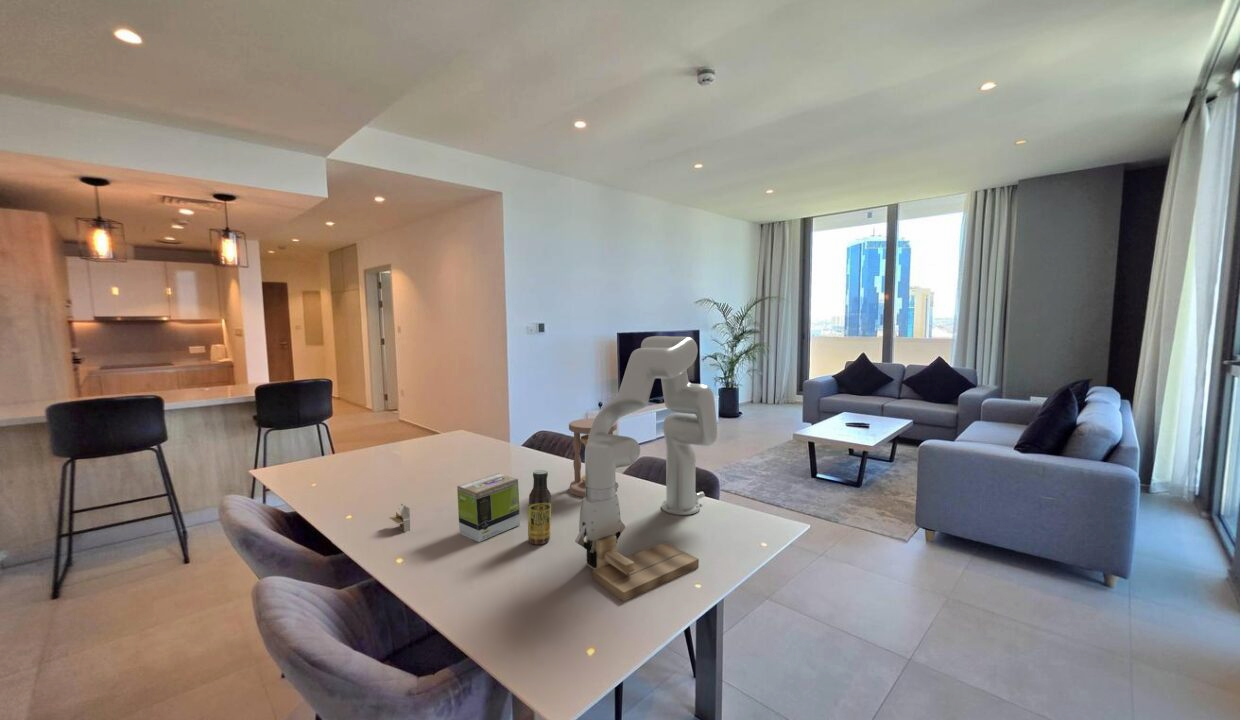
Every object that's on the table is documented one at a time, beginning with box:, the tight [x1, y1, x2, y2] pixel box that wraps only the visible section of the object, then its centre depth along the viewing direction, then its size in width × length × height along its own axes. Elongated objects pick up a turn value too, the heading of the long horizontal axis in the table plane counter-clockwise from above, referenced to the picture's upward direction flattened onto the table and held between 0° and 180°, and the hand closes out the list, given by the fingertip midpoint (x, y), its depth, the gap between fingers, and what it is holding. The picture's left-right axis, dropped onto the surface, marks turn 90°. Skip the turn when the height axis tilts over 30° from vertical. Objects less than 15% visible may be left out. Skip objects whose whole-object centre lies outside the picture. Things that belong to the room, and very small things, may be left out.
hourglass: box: [568, 417, 618, 498], centre depth 176 cm, size 18×18×25 cm
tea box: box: [456, 473, 521, 543], centre depth 142 cm, size 15×10×15 cm, turn 141°
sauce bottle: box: [527, 469, 552, 546], centre depth 134 cm, size 7×6×20 cm
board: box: [592, 541, 700, 602], centre depth 117 cm, size 24×12×2 cm, turn 128°
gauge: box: [585, 535, 634, 575], centre depth 117 cm, size 5×14×8 cm, turn 38°
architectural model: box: [388, 502, 411, 533], centre depth 143 cm, size 3×7×7 cm, turn 47°
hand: (601, 561), depth 120 cm, fingers closed on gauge, 5 cm apart
